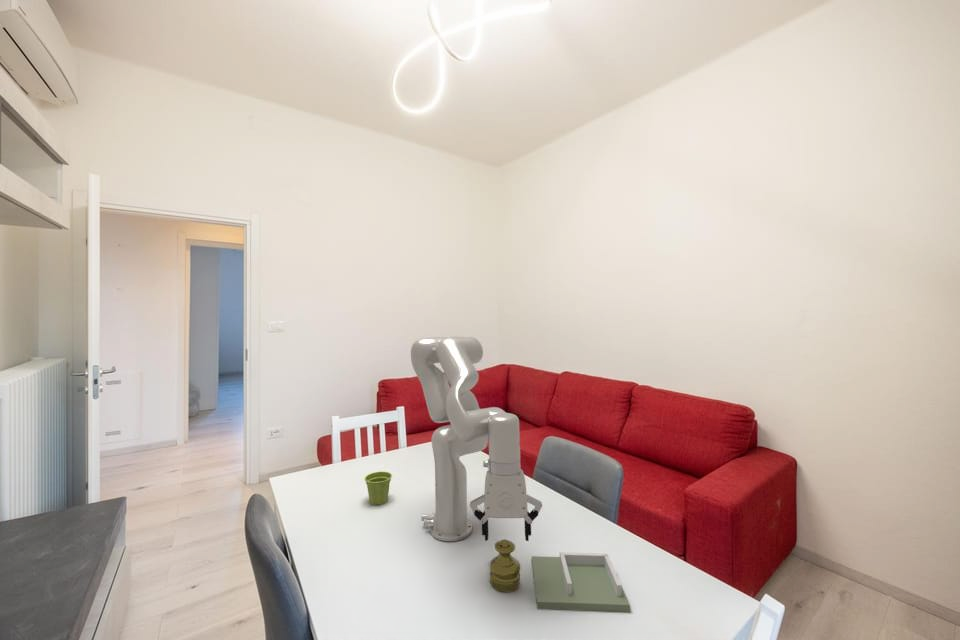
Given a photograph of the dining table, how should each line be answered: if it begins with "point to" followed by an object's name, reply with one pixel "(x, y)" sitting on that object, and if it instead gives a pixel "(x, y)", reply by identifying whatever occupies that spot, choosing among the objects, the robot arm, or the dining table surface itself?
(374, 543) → the dining table surface
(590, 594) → the board with raised rails
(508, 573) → the olive rounded stacked piece
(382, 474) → the plant pot
